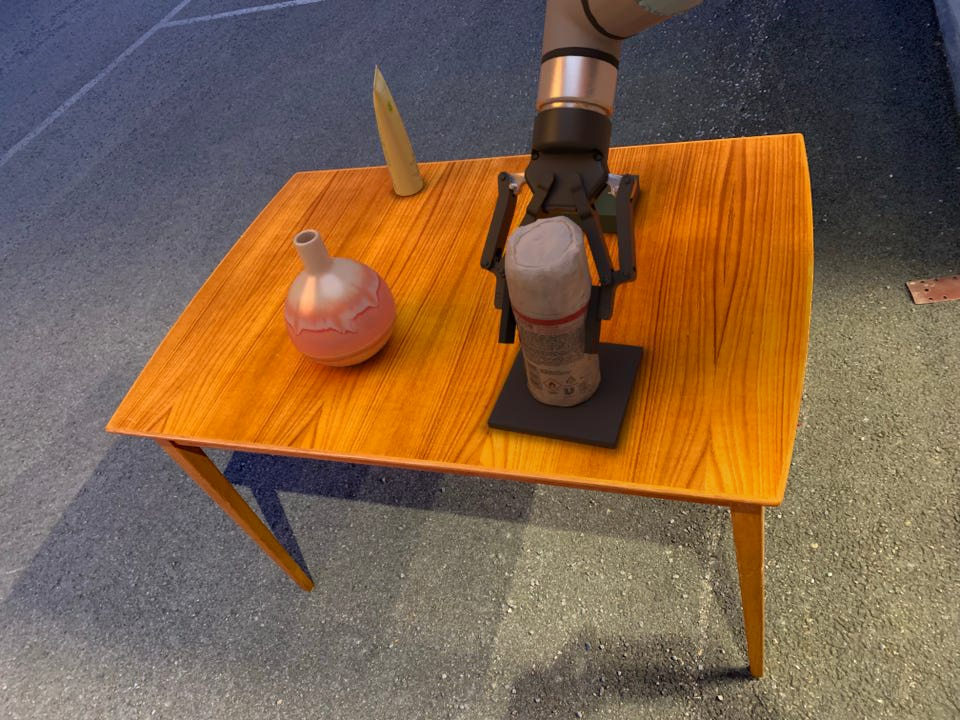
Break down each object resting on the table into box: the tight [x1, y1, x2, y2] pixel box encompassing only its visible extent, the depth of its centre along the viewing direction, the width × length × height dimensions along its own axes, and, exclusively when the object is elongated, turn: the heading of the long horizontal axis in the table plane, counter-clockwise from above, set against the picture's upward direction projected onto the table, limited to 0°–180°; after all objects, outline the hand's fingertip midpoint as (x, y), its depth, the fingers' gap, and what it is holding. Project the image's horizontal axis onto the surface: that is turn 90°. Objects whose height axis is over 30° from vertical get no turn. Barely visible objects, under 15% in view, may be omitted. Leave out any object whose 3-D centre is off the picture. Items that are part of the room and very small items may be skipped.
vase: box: [283, 228, 398, 368], centre depth 84 cm, size 14×14×18 cm
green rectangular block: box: [548, 174, 641, 234], centre depth 100 cm, size 14×10×3 cm
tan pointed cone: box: [372, 64, 424, 197], centre depth 109 cm, size 6×5×20 cm
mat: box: [487, 341, 644, 450], centre depth 77 cm, size 14×14×1 cm
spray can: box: [505, 216, 601, 406], centre depth 70 cm, size 8×8×20 cm
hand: (547, 348), depth 69 cm, fingers closed on spray can, 8 cm apart
